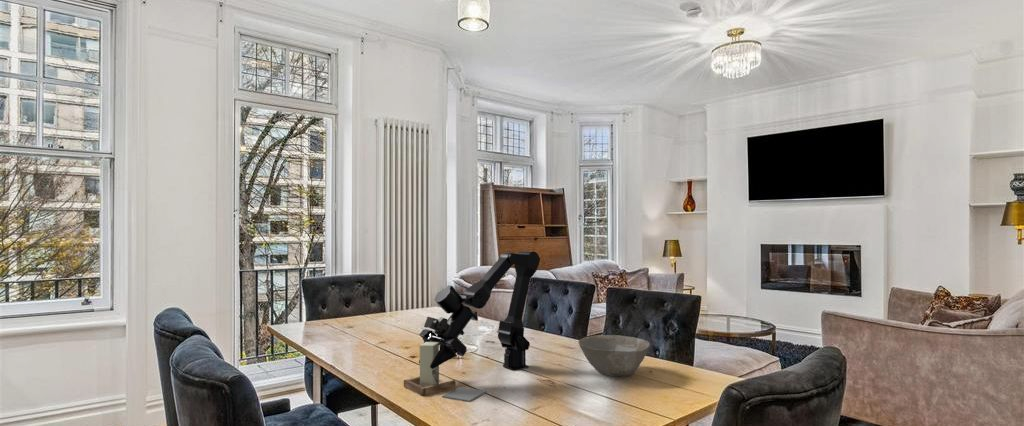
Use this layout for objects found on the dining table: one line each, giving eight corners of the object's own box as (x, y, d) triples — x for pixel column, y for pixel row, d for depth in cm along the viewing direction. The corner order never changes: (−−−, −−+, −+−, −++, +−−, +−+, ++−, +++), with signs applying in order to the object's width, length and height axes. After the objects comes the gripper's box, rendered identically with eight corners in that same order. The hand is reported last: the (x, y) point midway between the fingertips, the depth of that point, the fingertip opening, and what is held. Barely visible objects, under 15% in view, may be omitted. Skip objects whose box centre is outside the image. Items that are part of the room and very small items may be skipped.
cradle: (435, 379, 161) (435, 373, 161) (455, 387, 153) (455, 381, 153) (403, 386, 154) (403, 380, 154) (422, 396, 146) (422, 388, 146)
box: (433, 390, 151) (433, 345, 151) (419, 389, 151) (418, 345, 152) (439, 385, 156) (439, 341, 156) (425, 384, 157) (425, 341, 157)
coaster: (459, 388, 153) (459, 386, 153) (486, 392, 148) (486, 390, 148) (442, 397, 145) (442, 395, 145) (469, 402, 140) (469, 400, 140)
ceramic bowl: (622, 389, 150) (622, 354, 150) (564, 372, 167) (563, 341, 168) (665, 374, 165) (665, 342, 165) (607, 360, 182) (607, 331, 182)
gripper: (424, 303, 164) (392, 343, 157) (457, 310, 149) (424, 355, 142) (446, 325, 169) (416, 365, 161) (480, 333, 154) (448, 378, 147)
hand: (425, 365), depth 153 cm, fingers closed on box, 6 cm apart
